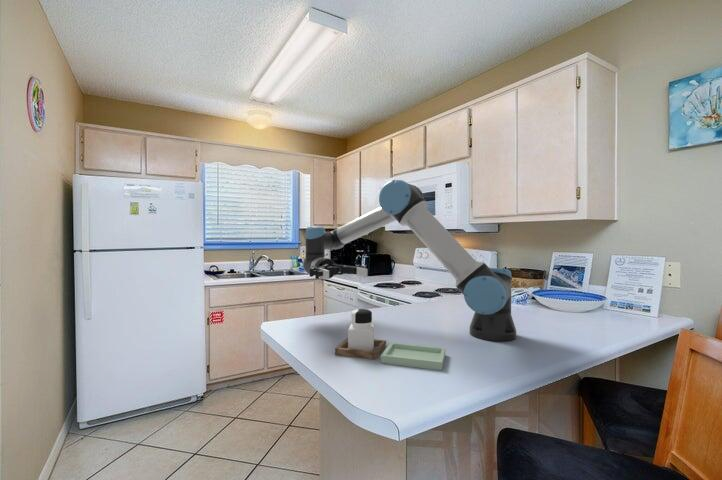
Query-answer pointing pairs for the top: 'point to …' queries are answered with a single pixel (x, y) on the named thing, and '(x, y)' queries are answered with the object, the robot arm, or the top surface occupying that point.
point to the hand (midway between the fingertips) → (347, 273)
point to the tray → (414, 356)
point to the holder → (374, 354)
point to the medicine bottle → (361, 330)
